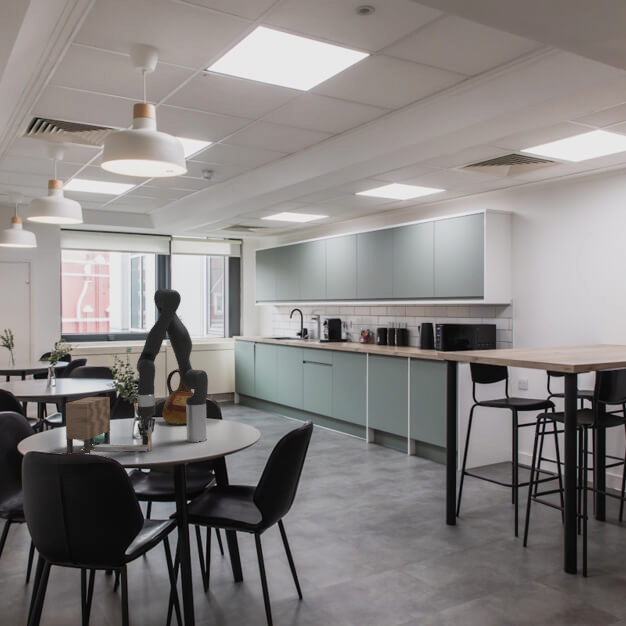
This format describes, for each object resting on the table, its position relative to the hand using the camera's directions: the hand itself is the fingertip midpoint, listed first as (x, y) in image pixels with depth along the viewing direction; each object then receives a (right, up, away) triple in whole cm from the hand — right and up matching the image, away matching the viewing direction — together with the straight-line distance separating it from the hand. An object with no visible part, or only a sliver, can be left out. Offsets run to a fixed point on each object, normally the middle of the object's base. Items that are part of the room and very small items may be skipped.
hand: (147, 443), depth 273 cm
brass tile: (-27, -4, +4) cm, 28 cm away
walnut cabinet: (-27, -4, +4) cm, 28 cm away
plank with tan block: (-11, -3, +2) cm, 12 cm away
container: (-32, -4, +23) cm, 39 cm away
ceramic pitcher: (+1, -3, +67) cm, 67 cm away
